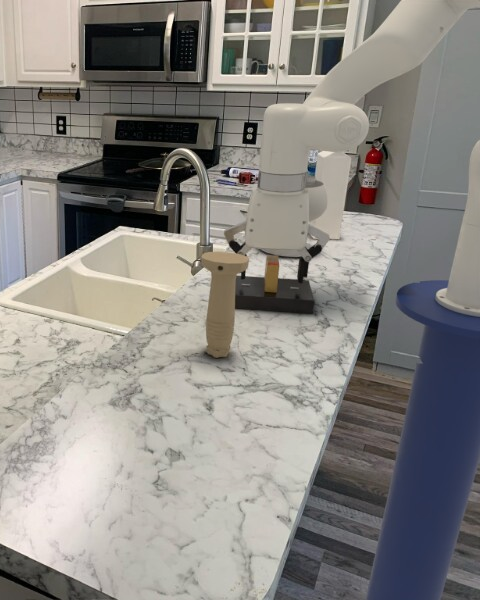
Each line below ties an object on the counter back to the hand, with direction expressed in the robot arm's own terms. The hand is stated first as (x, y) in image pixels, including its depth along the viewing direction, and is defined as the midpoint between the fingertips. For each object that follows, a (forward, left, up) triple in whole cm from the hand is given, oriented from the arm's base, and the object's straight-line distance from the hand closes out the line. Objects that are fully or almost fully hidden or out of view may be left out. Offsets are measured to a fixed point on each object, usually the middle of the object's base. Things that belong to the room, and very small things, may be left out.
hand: (271, 278), depth 108 cm
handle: (+8, +23, -4) cm, 25 cm away
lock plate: (0, 0, -4) cm, 4 cm away
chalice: (-5, -31, -4) cm, 32 cm away
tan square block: (0, 0, -2) cm, 2 cm away
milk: (-14, -44, -4) cm, 46 cm away
